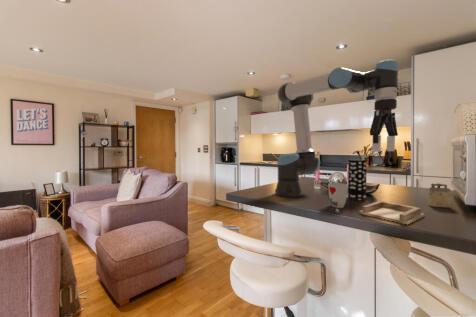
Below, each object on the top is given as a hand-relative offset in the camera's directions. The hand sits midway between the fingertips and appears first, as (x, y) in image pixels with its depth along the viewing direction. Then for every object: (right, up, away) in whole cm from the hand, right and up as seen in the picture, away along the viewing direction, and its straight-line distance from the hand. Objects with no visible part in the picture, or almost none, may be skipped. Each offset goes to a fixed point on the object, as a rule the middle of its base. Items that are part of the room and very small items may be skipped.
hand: (383, 151), depth 89 cm
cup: (-16, -25, +7) cm, 30 cm away
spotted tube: (+1, -24, +22) cm, 32 cm away
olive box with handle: (+28, -24, +5) cm, 37 cm away
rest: (-1, -25, -6) cm, 26 cm away
